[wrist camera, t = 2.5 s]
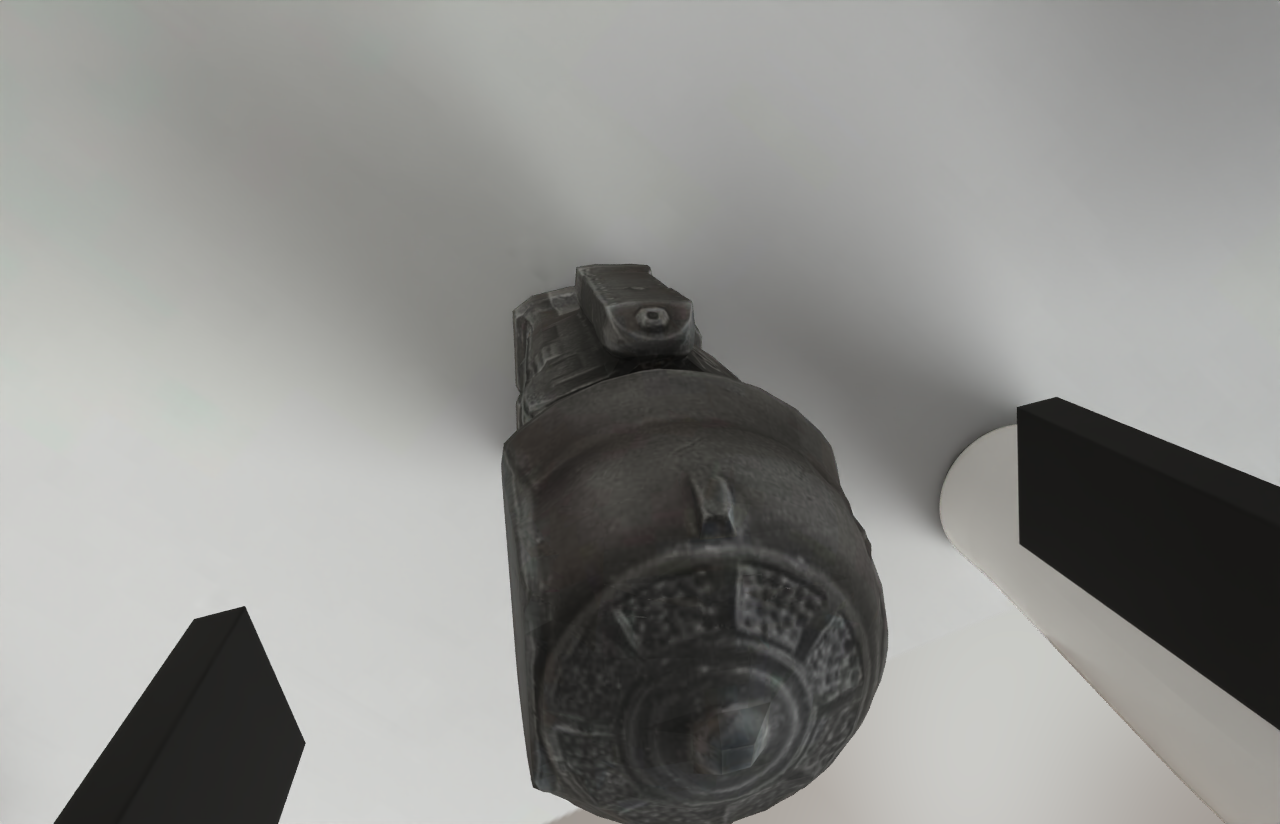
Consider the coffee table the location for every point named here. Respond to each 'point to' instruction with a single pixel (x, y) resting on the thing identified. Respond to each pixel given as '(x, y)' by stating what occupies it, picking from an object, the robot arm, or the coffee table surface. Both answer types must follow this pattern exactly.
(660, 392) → the toy
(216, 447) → the coffee table surface
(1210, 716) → the drinking glass
